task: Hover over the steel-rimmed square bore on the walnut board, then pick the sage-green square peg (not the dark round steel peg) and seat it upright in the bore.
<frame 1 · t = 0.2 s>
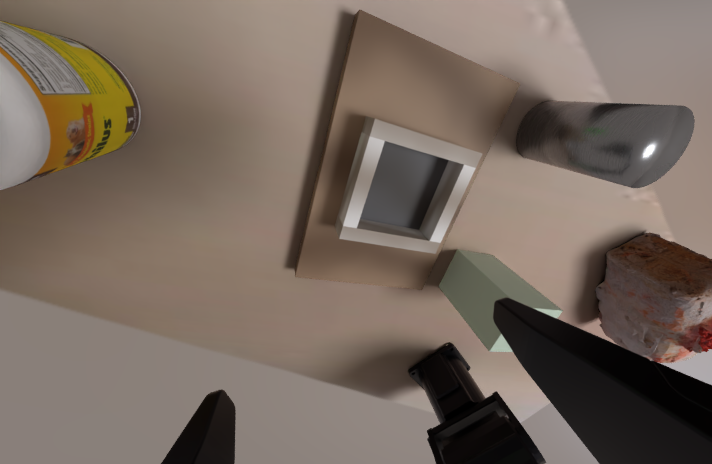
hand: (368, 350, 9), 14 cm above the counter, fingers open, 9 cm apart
square peg: (465, 270, 27), on the counter
bore board: (393, 183, 21), on the counter
round peg: (540, 131, 22), on the counter
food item: (614, 279, 35), on the counter
supplement bottle: (88, 98, 15), on the counter
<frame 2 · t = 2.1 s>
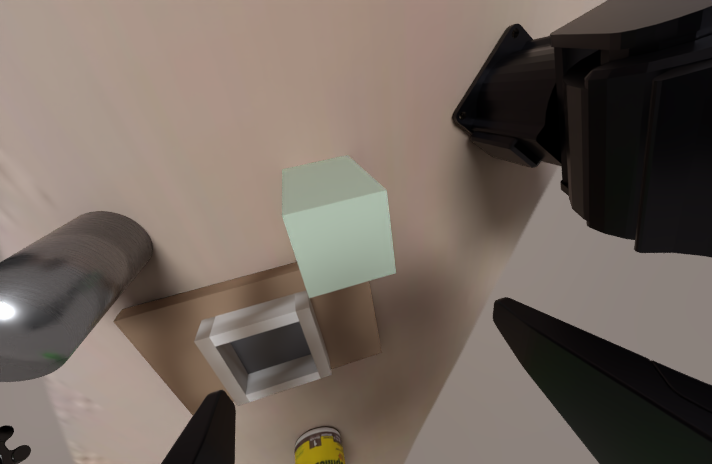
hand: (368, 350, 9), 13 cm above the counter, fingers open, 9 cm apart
square peg: (322, 193, 19), on the counter
bore board: (272, 328, 23), on the counter
round peg: (111, 243, 17), on the counter
supplement bottle: (317, 436, 33), on the counter
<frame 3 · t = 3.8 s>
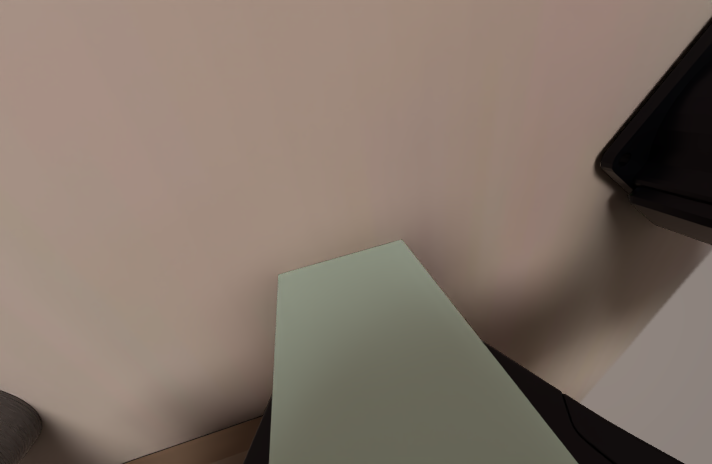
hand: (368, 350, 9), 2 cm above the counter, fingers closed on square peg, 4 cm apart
square peg: (353, 302, 11), on the counter, touching gripper
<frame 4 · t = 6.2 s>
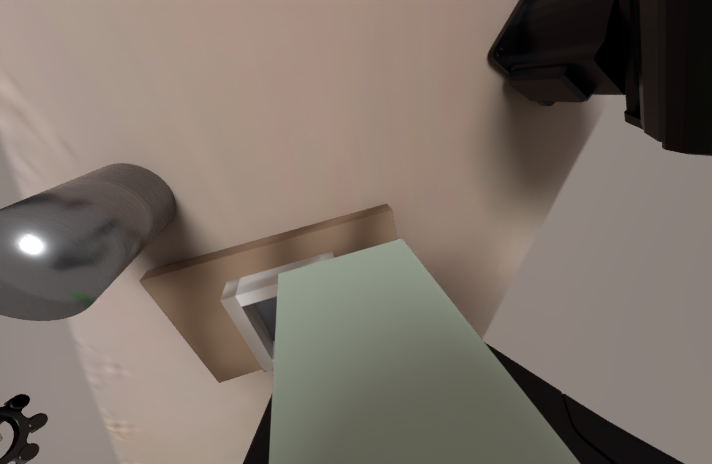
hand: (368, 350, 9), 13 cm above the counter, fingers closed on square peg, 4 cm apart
square peg: (353, 302, 10), point 11 cm above the counter, touching gripper
bore board: (296, 295, 23), on the counter
round peg: (134, 199, 17), on the counter
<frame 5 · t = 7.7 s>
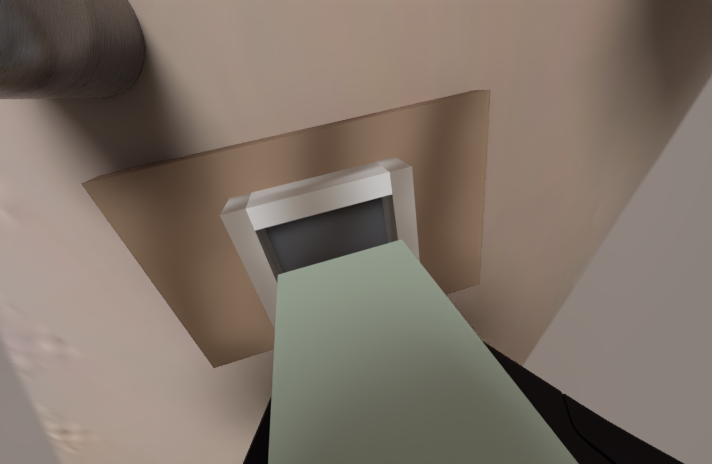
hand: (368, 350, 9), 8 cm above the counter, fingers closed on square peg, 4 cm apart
square peg: (353, 303, 10), point 6 cm above the counter, touching gripper
bore board: (330, 237, 16), on the counter
round peg: (69, 26, 9), on the counter
when the fingers open (4 cm above the counter, at t = 8.7 s): square peg stays where it is, resting on bore board.
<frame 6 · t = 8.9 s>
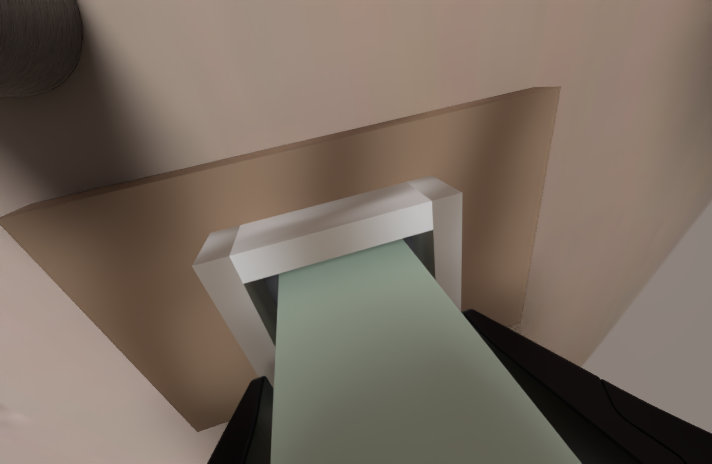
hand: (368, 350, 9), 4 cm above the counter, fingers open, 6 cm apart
square peg: (349, 288, 11), point 1 cm above the counter, touching bore board
bore board: (343, 272, 12), on the counter
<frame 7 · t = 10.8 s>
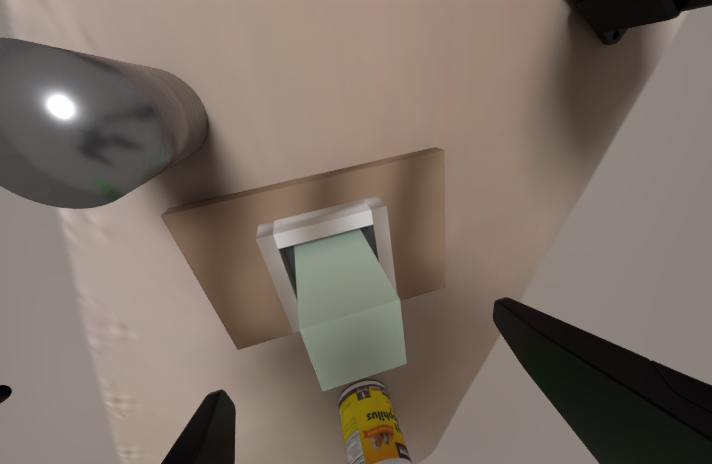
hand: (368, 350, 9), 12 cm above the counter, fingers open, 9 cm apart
square peg: (332, 258, 20), point 1 cm above the counter, touching bore board
bore board: (329, 250, 21), on the counter
round peg: (161, 116, 15), on the counter
supplement bottle: (361, 392, 30), on the counter
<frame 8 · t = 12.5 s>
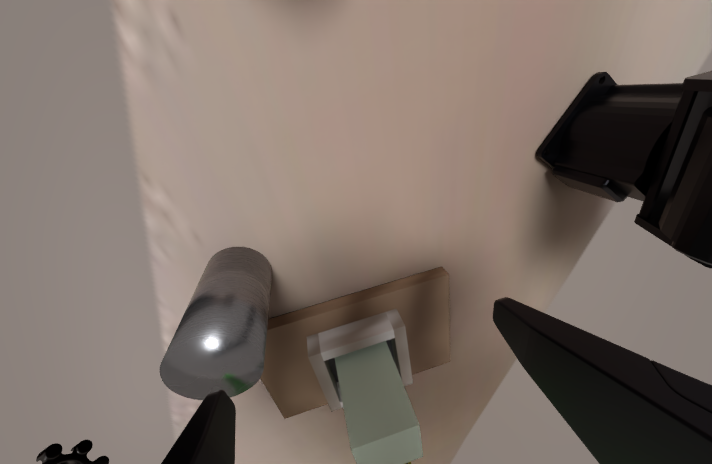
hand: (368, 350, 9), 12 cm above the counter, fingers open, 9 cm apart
square peg: (361, 352, 25), point 1 cm above the counter, touching bore board
bore board: (357, 341, 26), on the counter
round peg: (240, 273, 20), on the counter
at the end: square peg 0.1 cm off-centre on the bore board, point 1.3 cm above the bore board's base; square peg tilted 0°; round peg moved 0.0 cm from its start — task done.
